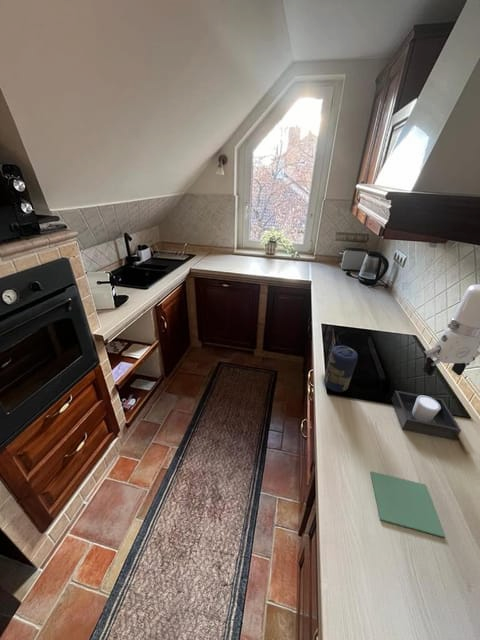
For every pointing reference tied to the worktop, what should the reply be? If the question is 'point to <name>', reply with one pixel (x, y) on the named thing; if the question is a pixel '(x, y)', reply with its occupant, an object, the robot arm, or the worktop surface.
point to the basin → (438, 426)
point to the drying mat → (405, 504)
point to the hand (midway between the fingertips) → (441, 372)
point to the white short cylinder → (425, 408)
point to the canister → (340, 368)
